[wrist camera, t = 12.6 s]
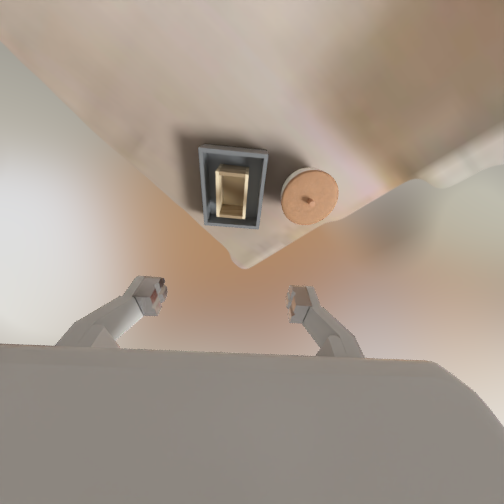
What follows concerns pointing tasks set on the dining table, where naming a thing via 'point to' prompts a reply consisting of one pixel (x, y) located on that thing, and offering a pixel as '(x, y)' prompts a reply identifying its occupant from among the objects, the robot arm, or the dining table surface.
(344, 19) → the dining table surface
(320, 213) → the lidded jar
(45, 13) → the dining table surface
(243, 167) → the pine crate
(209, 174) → the grey crate
